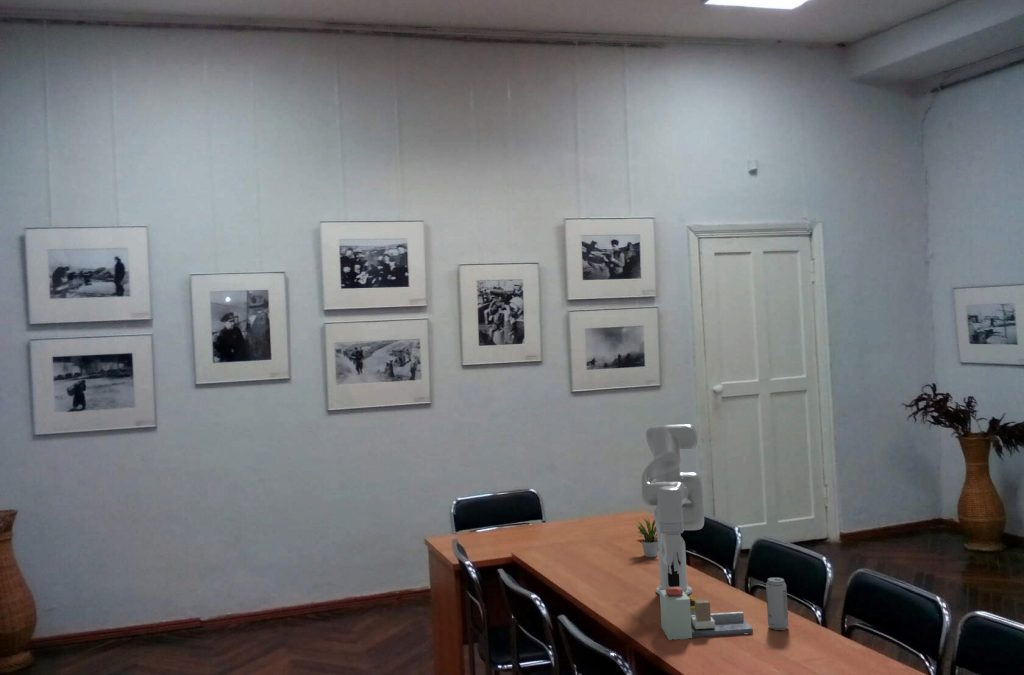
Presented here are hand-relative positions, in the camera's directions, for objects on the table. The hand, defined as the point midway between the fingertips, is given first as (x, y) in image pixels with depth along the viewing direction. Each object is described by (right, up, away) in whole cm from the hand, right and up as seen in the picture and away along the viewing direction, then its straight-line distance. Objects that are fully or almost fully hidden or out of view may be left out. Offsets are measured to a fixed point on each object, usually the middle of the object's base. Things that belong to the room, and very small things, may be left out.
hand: (673, 585), depth 269 cm
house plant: (+9, -14, +94) cm, 95 cm away
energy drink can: (+32, -13, 0) cm, 35 cm away
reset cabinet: (+1, -15, 0) cm, 15 cm away
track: (+14, -14, 0) cm, 19 cm away
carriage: (+9, -12, 0) cm, 15 cm away
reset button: (0, -7, 0) cm, 7 cm away
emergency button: (+8, -15, +21) cm, 27 cm away
